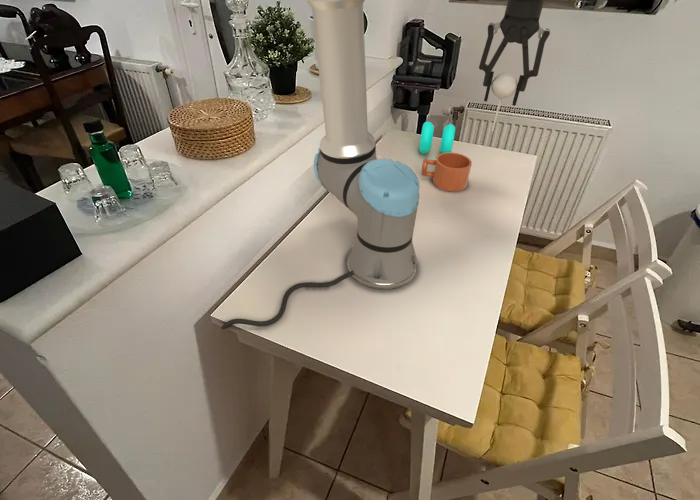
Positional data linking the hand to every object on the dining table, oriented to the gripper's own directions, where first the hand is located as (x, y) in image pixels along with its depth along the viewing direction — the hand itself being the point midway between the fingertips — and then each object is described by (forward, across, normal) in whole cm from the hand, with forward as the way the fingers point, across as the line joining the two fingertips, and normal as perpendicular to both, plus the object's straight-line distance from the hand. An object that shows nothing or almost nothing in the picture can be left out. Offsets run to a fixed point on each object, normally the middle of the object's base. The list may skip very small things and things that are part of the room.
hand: (499, 101), depth 108 cm
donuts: (+25, +15, -15) cm, 33 cm away
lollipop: (+8, 0, 0) cm, 8 cm away
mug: (+25, +10, +1) cm, 26 cm away
